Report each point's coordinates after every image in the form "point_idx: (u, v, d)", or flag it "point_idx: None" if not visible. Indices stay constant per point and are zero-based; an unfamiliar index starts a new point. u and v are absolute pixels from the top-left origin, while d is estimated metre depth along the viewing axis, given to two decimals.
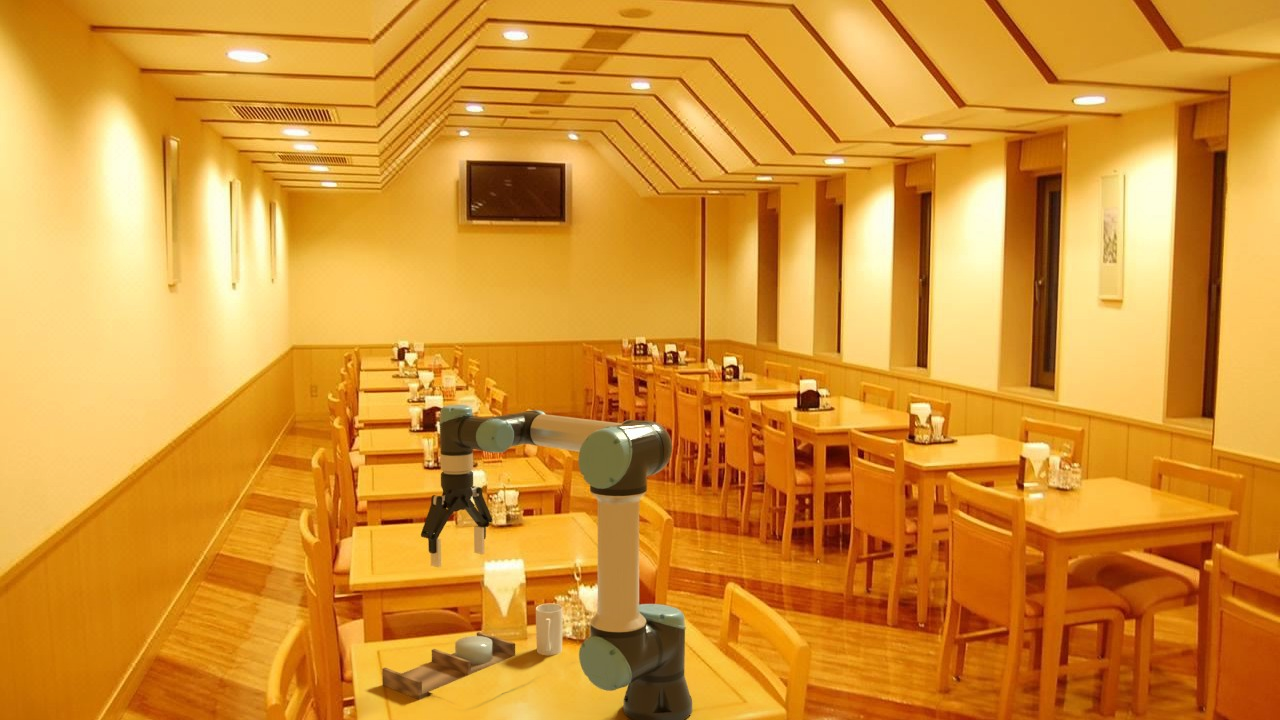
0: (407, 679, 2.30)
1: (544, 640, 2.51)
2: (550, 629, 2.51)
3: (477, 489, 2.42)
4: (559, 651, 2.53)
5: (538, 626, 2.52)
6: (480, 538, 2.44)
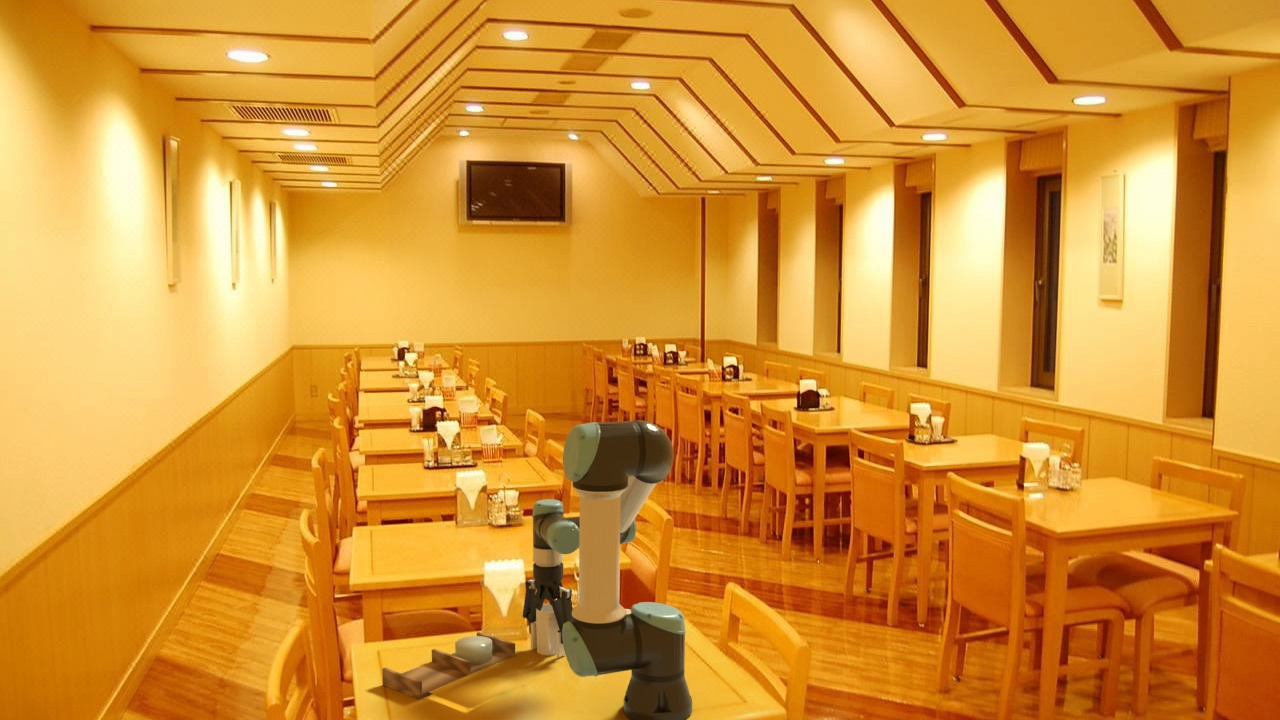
0: (407, 679, 2.30)
1: (544, 640, 2.51)
2: (550, 629, 2.51)
3: None
4: None
5: (538, 626, 2.52)
6: None
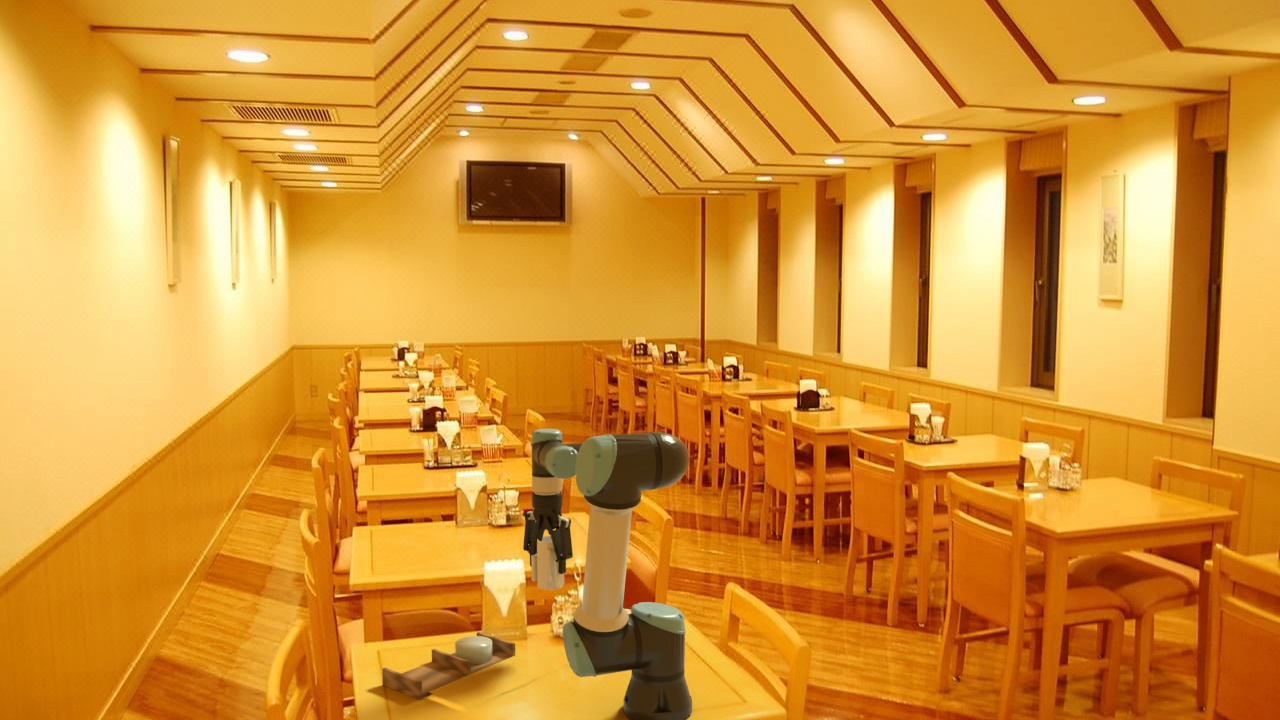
0: (407, 679, 2.30)
1: (545, 571, 2.49)
2: (551, 560, 2.49)
3: None
4: None
5: (539, 557, 2.50)
6: None
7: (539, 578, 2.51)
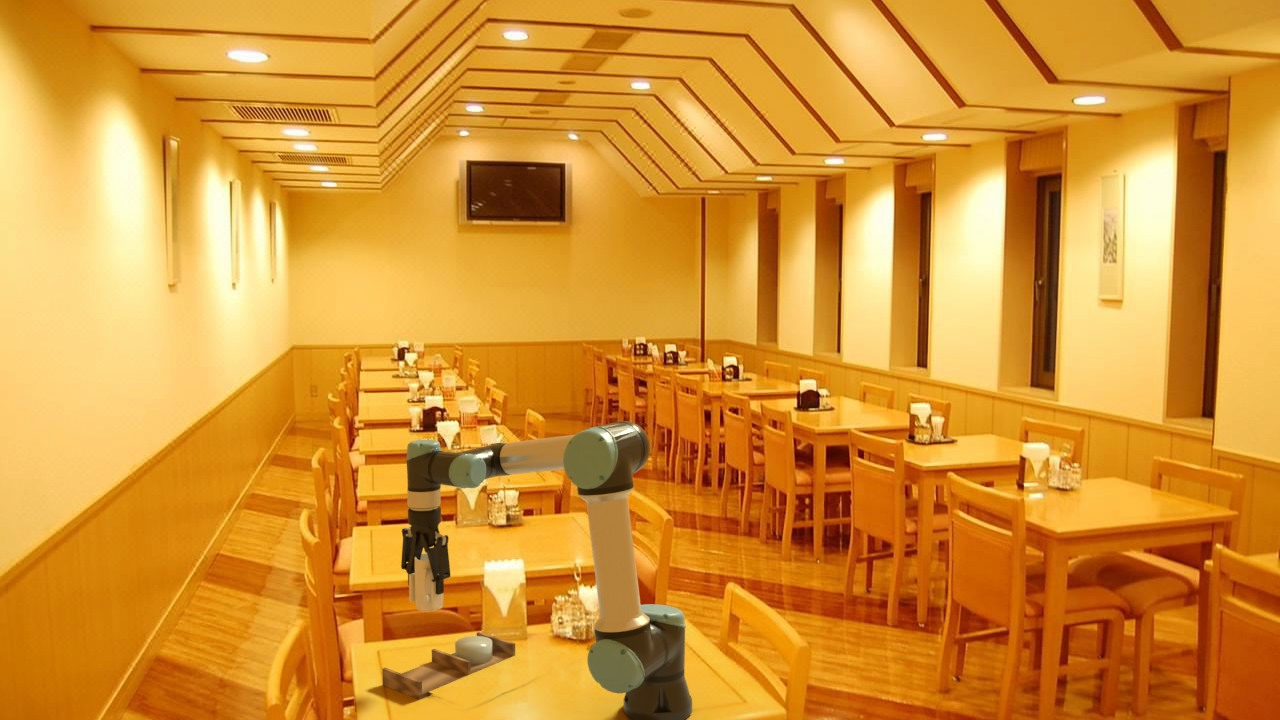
0: (407, 679, 2.30)
1: (422, 591, 2.34)
2: (428, 579, 2.34)
3: None
4: None
5: (416, 576, 2.35)
6: None
7: (416, 598, 2.35)
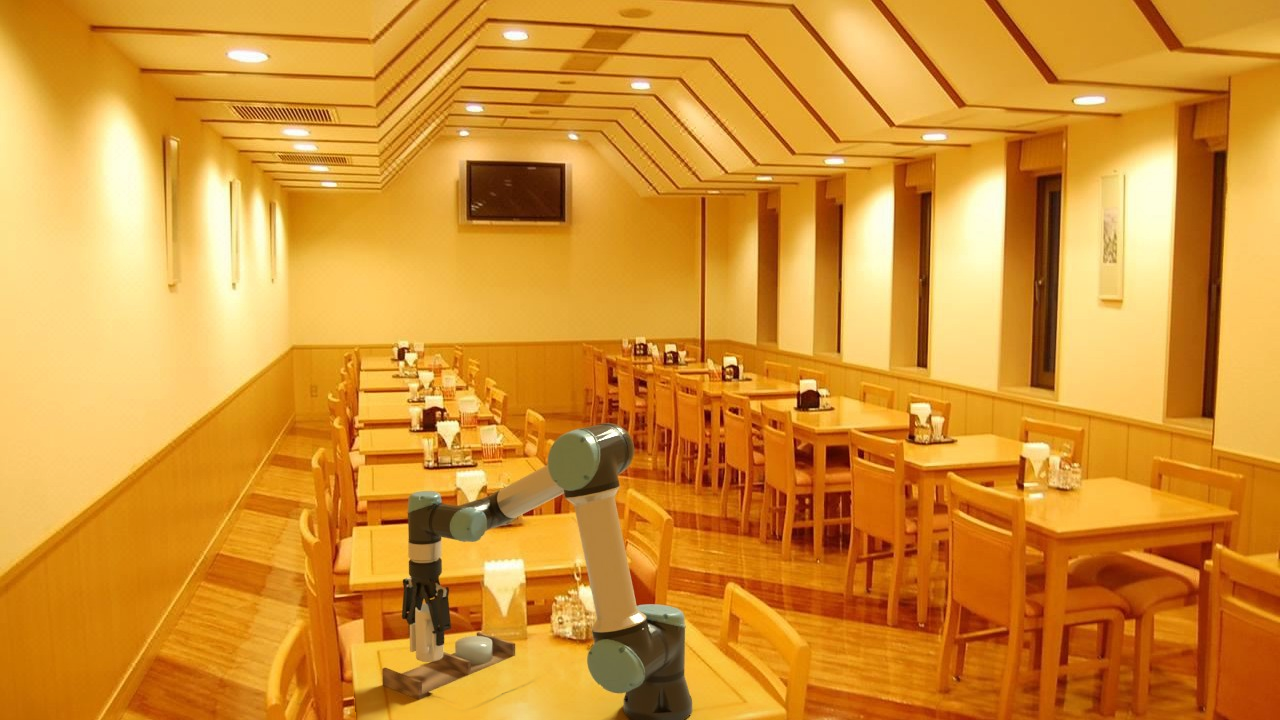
0: (407, 679, 2.30)
1: (422, 642, 2.35)
2: (429, 630, 2.35)
3: None
4: None
5: (417, 627, 2.36)
6: None
7: (417, 649, 2.37)
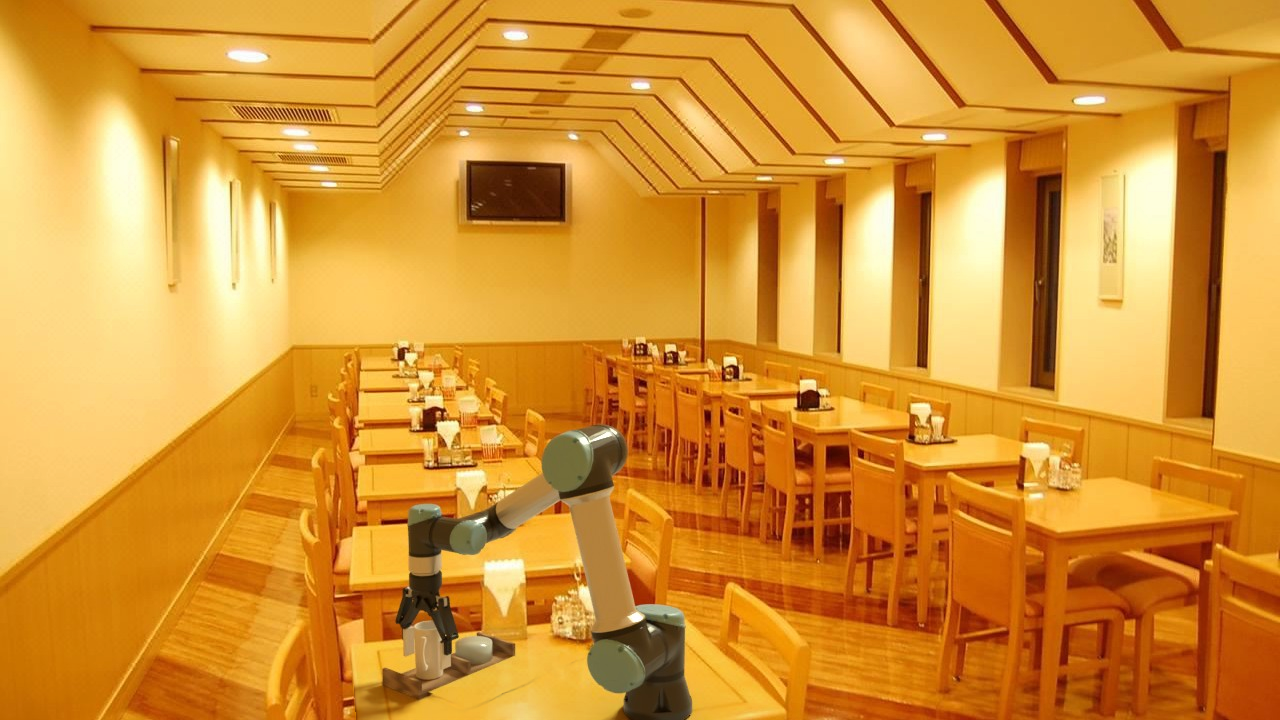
0: (407, 679, 2.30)
1: None
2: (427, 648, 2.35)
3: None
4: (438, 672, 2.37)
5: (416, 645, 2.36)
6: None
7: (416, 667, 2.37)
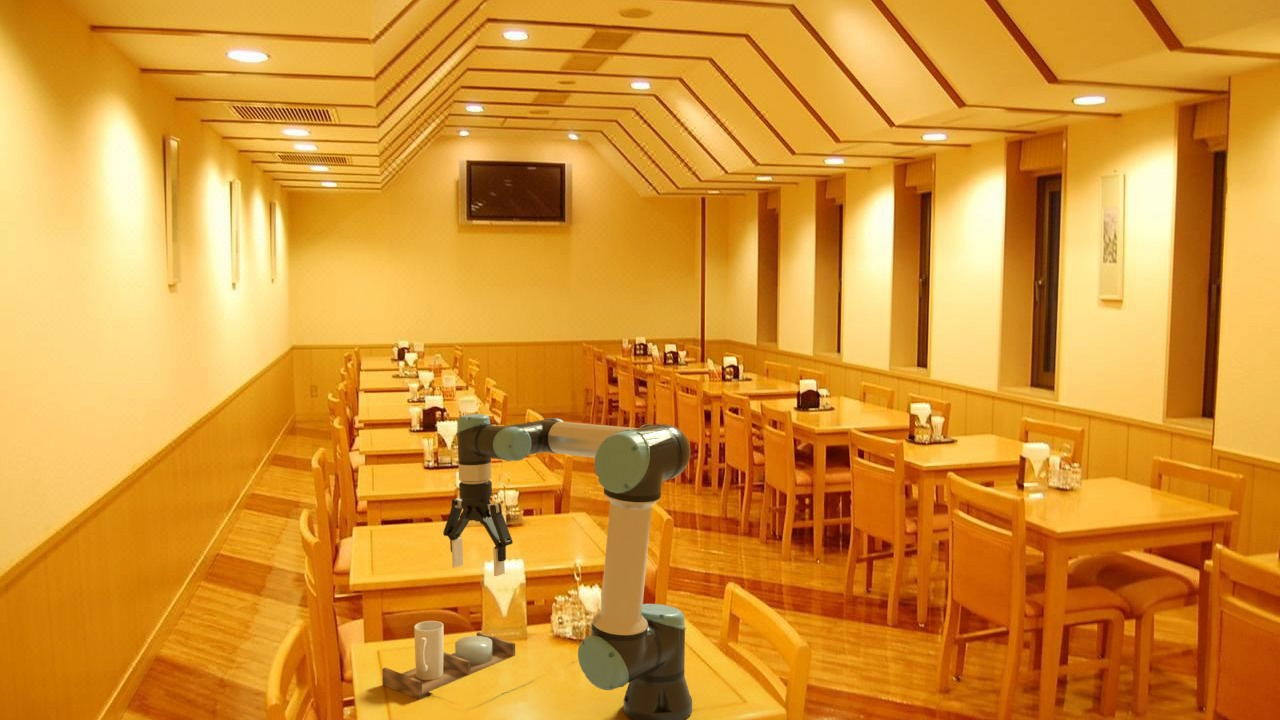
0: (407, 679, 2.30)
1: None
2: (427, 649, 2.35)
3: None
4: (438, 672, 2.37)
5: (416, 645, 2.36)
6: None
7: (416, 667, 2.37)
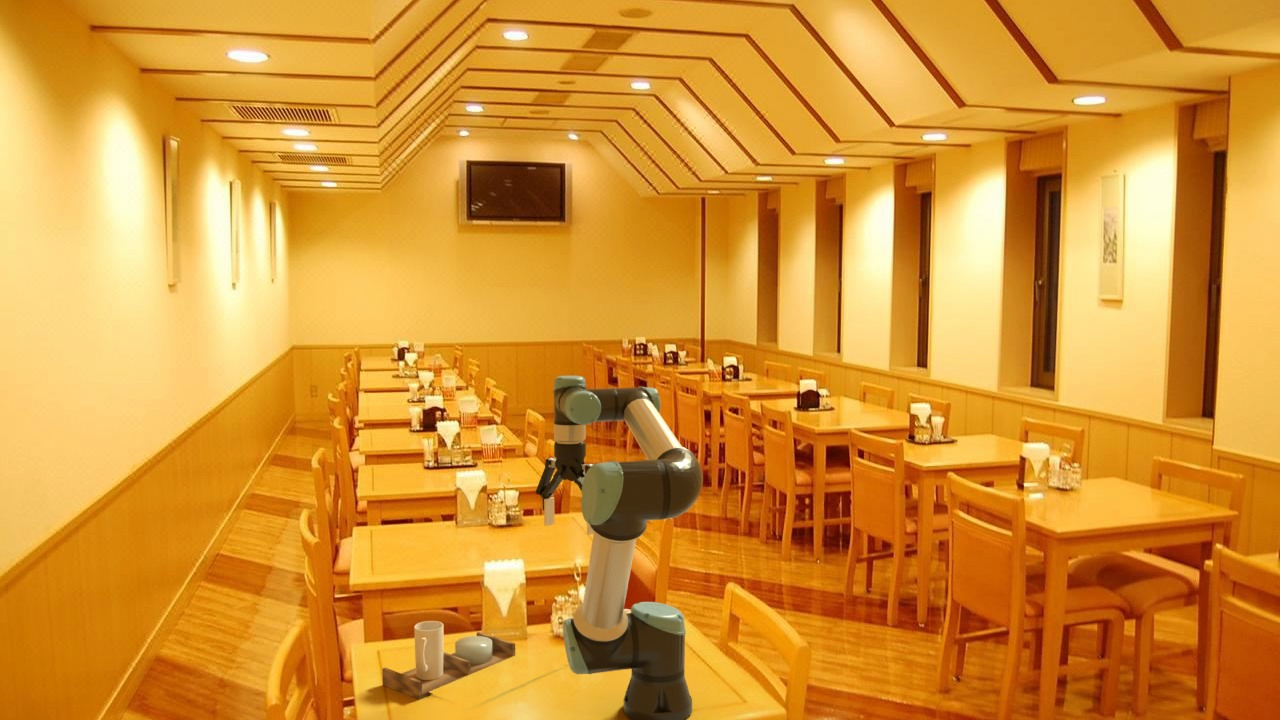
0: (407, 679, 2.30)
1: None
2: (427, 649, 2.35)
3: None
4: (438, 672, 2.37)
5: (416, 645, 2.36)
6: None
7: (416, 667, 2.37)
